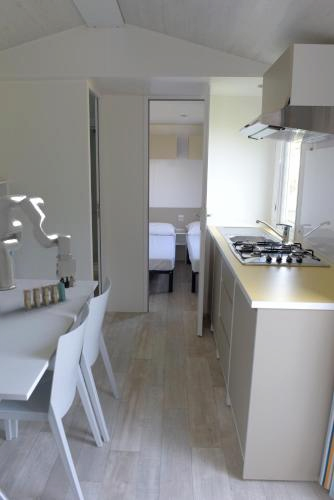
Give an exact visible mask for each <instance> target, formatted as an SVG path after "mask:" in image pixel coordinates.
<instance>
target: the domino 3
mask: <svg viewBox="0 0 334 500" xmlns="http://www.w3.org/2000/svg"><path fill="white" fill-rule="evenodd" d="M49 292H50V289H49V286H47V285H45V284H43V285H41V302H42V303H43V304H45V305H49V300H50V293H49Z"/></svg>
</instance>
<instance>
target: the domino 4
mask: <svg viewBox="0 0 334 500" xmlns="http://www.w3.org/2000/svg"><path fill="white" fill-rule="evenodd" d="M49 292H50V293H49V296H50V300H51V301H52V302H53V303H58V298H59V296H58V285H57V284H55V283H52V282H51V283H50V284H49Z"/></svg>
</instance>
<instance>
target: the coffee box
mask: <svg viewBox="0 0 334 500" xmlns="http://www.w3.org/2000/svg"><path fill="white" fill-rule="evenodd" d="M74 263H75V270H76V266H77V265H76V259H74ZM76 271H77V270H76ZM59 282H62V283H63V281H62V280H59ZM75 285H77V273H76V274H75V276H74V277H72V278H71V279H70V281H69V287H75Z"/></svg>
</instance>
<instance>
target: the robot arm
mask: <svg viewBox="0 0 334 500" xmlns="http://www.w3.org/2000/svg"><path fill="white" fill-rule="evenodd" d="M44 208H45V202H44V200H43V199H42V198H41V197H40V196H36V195H31V194H10V195H4V196H0V291H7V290H8V291H9V290H13V289H15V288H17V287H18V284H17V282H15V274H14V273H15V272H14V262H13V256H11V254H10V252H13V251H18V250H19V249H20V248H21V247H22V242H23V234H24V233H23V232H24V230H23V229H24V226H23V224H22V222H21V220H19V219H17V218H14V213H13V211H14V210H22V212H23V213H24V215H25V216H26V217H27V219H28V220H29V221H30V223H31V224H32V234H33V235H32V236H33V237H34V239H35V241H36V242H37V243H38V244H39V245H40V247H42V248H44V249H50V248H51V249H52V248H56V247H57V255H56V256H55V258H56V265H55V267H56V268H55V271H56V273H55V274H56V279H57V280H59V281H60V280H62V281H63V283H64V286H65V290H67V289H70V286H69V281H70V279H71V278H72V277H74V276H75V274H76V275H77V273H76V272H77V270H75V265H76V262H75V263H74V260H75V259H74V258H73V256H72V255H73V253H72V249H73V248H72V236H71V235H70V234H63V233H60V232H53V233H48V234H46V233H45V232H44V230H43V228H42V224H43V223H45V221H46V219H47V216H46V215H45V214H44V212H43V209H44Z"/></svg>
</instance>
